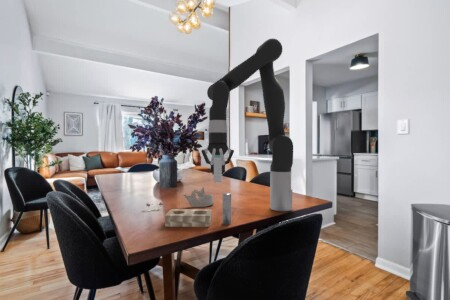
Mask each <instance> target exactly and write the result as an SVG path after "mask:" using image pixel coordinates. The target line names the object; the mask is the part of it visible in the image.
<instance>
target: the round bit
mask: <svg viewBox="0 0 450 300" xmlns="http://www.w3.org/2000/svg"><path fill="white" fill-rule="evenodd" d="M222 225H224V226H225V225H228V226H229V225H232V193H230V192H225V193H222Z"/></svg>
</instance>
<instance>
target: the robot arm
mask: <svg viewBox="0 0 450 300" xmlns="http://www.w3.org/2000/svg"><path fill="white" fill-rule="evenodd" d="M282 54H283V46H282V43H281V41H280V40H278V39H276V38H269V39H267V40H265V41H264V42H263V43H261V44H260V45H259V46H258V47H257V49H256V51H255V53H254V54H252V55H251V56H250V57H248V58H247V59H245V60H243V61H242V62H241V63H239V64H238V65H237V66H235V67H233V68H232V69H231V70H229V71H228V72H227V73H226V74H225V75H224V76H223V77H221V78H219V79H218V80H217V81H215V82H214V83H212V84H211V85H209V87H208V88H207V91H206V93H207V97H208V98H209V100H211V101H212V103H211V106H210V108H209V110H208V111H209V112H208V113H209V117H208V119H209V120H208V145H207V147H206V148H204V149H202V150H201V154H202V156H203V159H204V161H205V163H206V164H208V165H210V173H211V174H212V175H214V158H215V155H220V156H221V159H222V175H224V174H225V172H226V165H228V164H230V162H231V160H232V158H233V155H234V153H235V150H234V149H232V148H229V146H228V123H227V122H228V121H227V108H228V104H229V99H230V92H232V90H235V89H236V88H238V87H240V86H241V85H242V84H243V83H245V82H247V80H248V79H250V77H252V76H253V75H254V74H255V73H257V72H259V76H260V83H261V89H262V98H263V106H264V110H265V118H266V122H267V130H268V149H269V150H270V152H271V153H272V155H271V158H272V159H271V163H270V165H269V167H270V168H269V169H270V170H269V171H270V172H269V175H270V178H269V180H270V181H269V183H270V185H269V187H270V188H269V190H270V191H269V192H270V195H269V197H270V198H269V199H270V200H269V201H270V202H269V208H270V210H272V211H275V212H289V211H293V188H292V167H293V164H294V162H293V161H294V143H293V140H292V139H291V137H290V136H287V135H286V133H285V132H286V131H285V126H284V121H285V114H286V113H285V112H286V102H285V93H284V89H283V87H282V85H281V83H280V81H278V79H277V78H276V75H275V69H274V62H276V61H277V60H278V59H279V58H280V57H281V56H282ZM208 152H209V153H210V155H211V157H210V159H209V157H208V154H209V153H208ZM227 152H228V157H227V160H225V154H227Z"/></svg>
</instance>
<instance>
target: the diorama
mask: <svg viewBox="0 0 450 300" xmlns="http://www.w3.org/2000/svg"><path fill="white" fill-rule="evenodd" d="M145 205H146V207H148V208H150V206H151V205H153V203H152V204H151V203H149V202H147V203H146V204H145ZM163 205H164V202H159V203H158V206H160V207H161V206H163ZM159 210H160V208H157V211H159ZM151 211H152V212H153V211H155V209H148V210H147V212H151Z"/></svg>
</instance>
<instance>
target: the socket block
mask: <svg viewBox="0 0 450 300" xmlns="http://www.w3.org/2000/svg"><path fill="white" fill-rule="evenodd" d="M212 213H213V212H212V209H206V208H205V209H202V208H201V209H199V208H198V209H197V208H196V209H195V208H194V209H188V208H186V209H182V208H177V209H176V208H175V209H174V208H173V209H170V210H169V211H168V212H167V213H166V214H165V215H164V222H165V223H164V227H169V228H170V227H171V228H174V227H175V228H176V227H177V228H178V227H180V228H187V227H188V228H192V227H193V228H200V227H201V228H206V227H207V228H210V227H211V224H212V220H213V218H212V215H213V214H212Z"/></svg>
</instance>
